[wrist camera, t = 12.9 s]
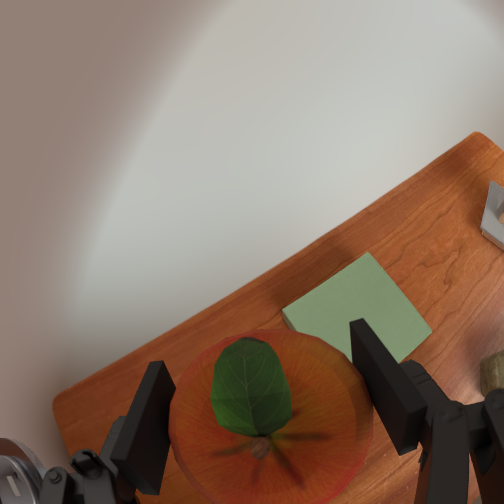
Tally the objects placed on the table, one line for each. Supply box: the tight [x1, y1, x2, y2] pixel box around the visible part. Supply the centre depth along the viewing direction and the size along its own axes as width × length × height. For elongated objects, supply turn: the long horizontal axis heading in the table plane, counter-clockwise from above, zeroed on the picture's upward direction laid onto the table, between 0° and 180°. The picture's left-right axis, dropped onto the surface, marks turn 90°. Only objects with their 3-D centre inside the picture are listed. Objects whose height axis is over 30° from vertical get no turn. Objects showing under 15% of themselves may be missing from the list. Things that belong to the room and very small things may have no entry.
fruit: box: [168, 329, 373, 504], centre depth 11 cm, size 10×10×10 cm
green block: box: [282, 252, 432, 363], centre depth 32 cm, size 13×13×4 cm
